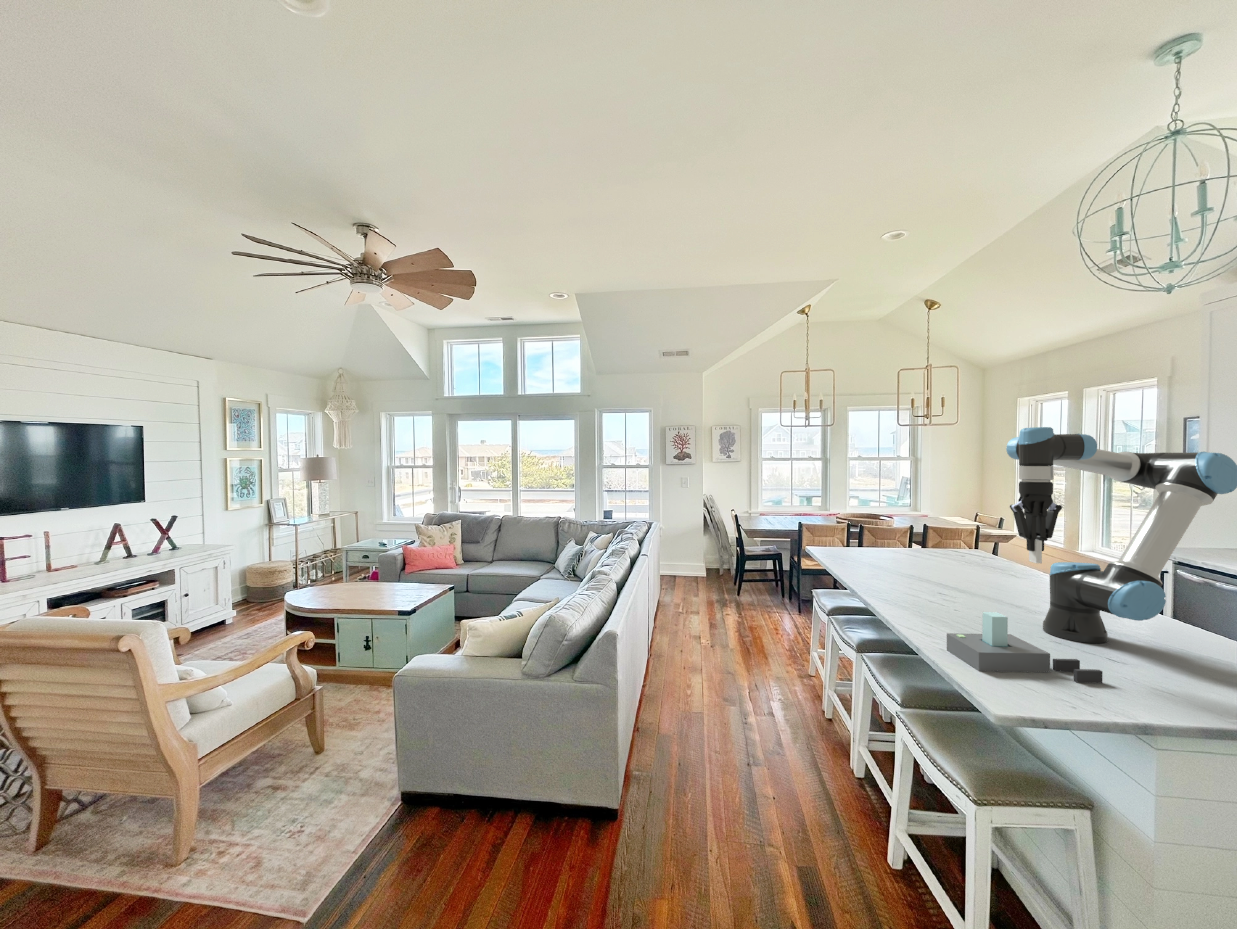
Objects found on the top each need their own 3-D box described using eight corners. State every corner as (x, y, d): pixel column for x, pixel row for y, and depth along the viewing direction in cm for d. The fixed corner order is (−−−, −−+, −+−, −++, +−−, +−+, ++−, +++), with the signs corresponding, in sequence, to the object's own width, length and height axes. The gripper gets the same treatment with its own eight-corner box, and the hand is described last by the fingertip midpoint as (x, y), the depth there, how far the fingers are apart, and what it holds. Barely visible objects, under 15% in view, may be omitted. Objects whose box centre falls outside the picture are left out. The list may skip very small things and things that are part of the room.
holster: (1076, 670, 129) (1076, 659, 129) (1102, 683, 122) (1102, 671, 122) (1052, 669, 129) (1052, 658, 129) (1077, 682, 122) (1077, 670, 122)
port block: (1010, 651, 142) (1010, 633, 142) (1050, 672, 128) (1050, 652, 128) (946, 650, 143) (946, 632, 143) (978, 671, 129) (978, 651, 129)
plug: (997, 654, 137) (997, 612, 137) (1007, 660, 133) (1007, 617, 133) (982, 654, 138) (982, 612, 137) (991, 660, 133) (992, 616, 133)
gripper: (1048, 480, 143) (1048, 559, 143) (1002, 480, 144) (1002, 559, 144) (1070, 481, 135) (1070, 565, 136) (1021, 481, 136) (1021, 565, 137)
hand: (1035, 562), depth 140 cm, fingers closed
